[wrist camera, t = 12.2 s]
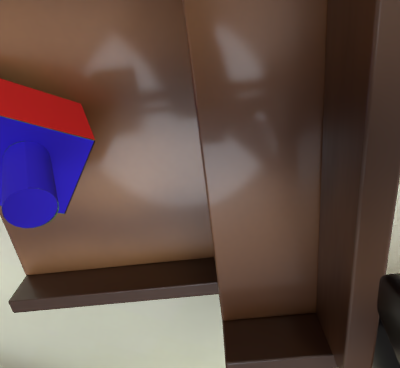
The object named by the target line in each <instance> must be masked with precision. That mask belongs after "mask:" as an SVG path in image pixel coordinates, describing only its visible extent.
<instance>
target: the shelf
mask: <svg viewBox="0 0 400 368" xmlns="http://www.w3.org/2000/svg"><path fill="white" fill-rule="evenodd" d="M0 78H3V79H6V80H9V81H12V82H15V83H18V84H22V85H25V86H28V87H31V88H34V89H37V90H40V91H43V92H46V93H49V94H53V95H56V96H59V97H62V98H65V99H68V100H71V101H74V102H77V103H80V104H81V105H82V107H83V110H84V113H85V115H86V118H87V120H88V123H89V125H90V128H91V131H92V133H93V136H94V138H95V143H94V146H93V148H92V150H91V153H90V155H89V158H88V160H87V163H86V165H85V167H84V170H83V172H82V175H81V177H80V180H79V182H78V184H77V187H76V189H75V192H74V194H73V197H72V199H71V201H70V204H69V206H68V209H67V211H66V214H61V213H57V215H56V216H55V217H54V218H53V220H52V221H50V222H49V223H47V224H45V225H43V226H40V227H36V228H21V227H16V226H14V225H12V224H10V223H9V222H7V220H6V219H5V218H4V217H3V214H2V206H0V215H1V218H2V220H3V222H4V225H5V227H6V229H7V232H8V234H9V236H10V239H11V241H12V243H13V246H14V248H15V250H16V253H17V255H18V257H19V260H20V262H21V264H22V267H23V269H24V271H25V274H26V275H27V276H26V277H25V279H24V280H23V282H22V283H21V284H20V286H19V287H18V289H17V290H16V292H15V293H14V294H13V296H12V297H11V299H10V300H9V304H10V306H11V309H12V311H13V312H14V313H16V312H27V311H38V310H49V309H60V308H71V307H82V306H93V305H104V304H114V303H125V302H136V301H147V300H158V299H169V298H180V297H191V296H202V295H213V294H219V299H220V307H221V315H222V323H223V336H224V349H225V363H226V368H372V364H373V358H374V351H375V344H376V337H377V330H378V323H379V314H378V310H377V298H378V290H379V281H380V278H381V277H382V276H383V275H386V268H387V261H388V254H389V247H390V240H391V233H392V226H393V219H394V212H395V206H396V199H397V192H398V185H399V178H400V0H0Z"/></svg>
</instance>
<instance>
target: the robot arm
mask: <svg viewBox="0 0 400 368" xmlns="http://www.w3.org/2000/svg"><path fill="white" fill-rule="evenodd" d="M377 310H378V314H379V323H378V330H377V337H376V344H375V351H374V358H373V364H372V368H400V274H389V275H383V276H382V277H381V278H380V281H379V290H378V298H377Z"/></svg>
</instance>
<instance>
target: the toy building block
mask: <svg viewBox="0 0 400 368" xmlns="http://www.w3.org/2000/svg"><path fill="white" fill-rule="evenodd" d="M94 143H95V138H94V136H93V133H92V131H91V128H90V125H89V123H88V120H87V118H86V115H85V113H84V110H83V107H82V105H81V104H80V103H77V102H74V101H71V100H68V99H65V98H62V97H59V96H56V95H53V94H49V93H46V92H43V91H40V90H37V89H34V88H31V87H28V86H25V85H22V84H18V83H15V82H12V81H9V80H6V79H3V78H0V206H2V214H3V217H4V218H5V219H6V220H7V222H9V223H10V224H12V225H14V226H16V227H21V228H36V227H40V226H43V225H45V224H47V223H49V222H50V221H52V220H53V218H54V217H55V216H56V215H57V213H61V214H66V211H67V209H68V206H69V204H70V201H71V199H72V197H73V194H74V192H75V189H76V187H77V184H78V182H79V180H80V177H81V175H82V172H83V170H84V167H85V165H86V163H87V160H88V158H89V155H90V153H91V150H92V148H93V146H94Z"/></svg>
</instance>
